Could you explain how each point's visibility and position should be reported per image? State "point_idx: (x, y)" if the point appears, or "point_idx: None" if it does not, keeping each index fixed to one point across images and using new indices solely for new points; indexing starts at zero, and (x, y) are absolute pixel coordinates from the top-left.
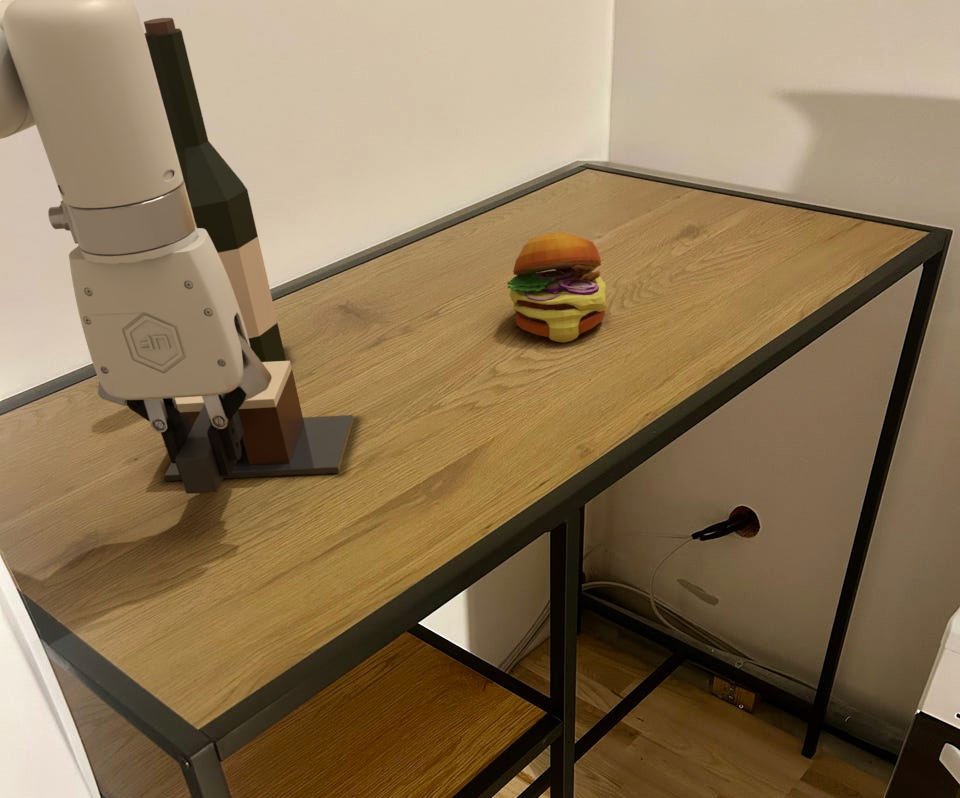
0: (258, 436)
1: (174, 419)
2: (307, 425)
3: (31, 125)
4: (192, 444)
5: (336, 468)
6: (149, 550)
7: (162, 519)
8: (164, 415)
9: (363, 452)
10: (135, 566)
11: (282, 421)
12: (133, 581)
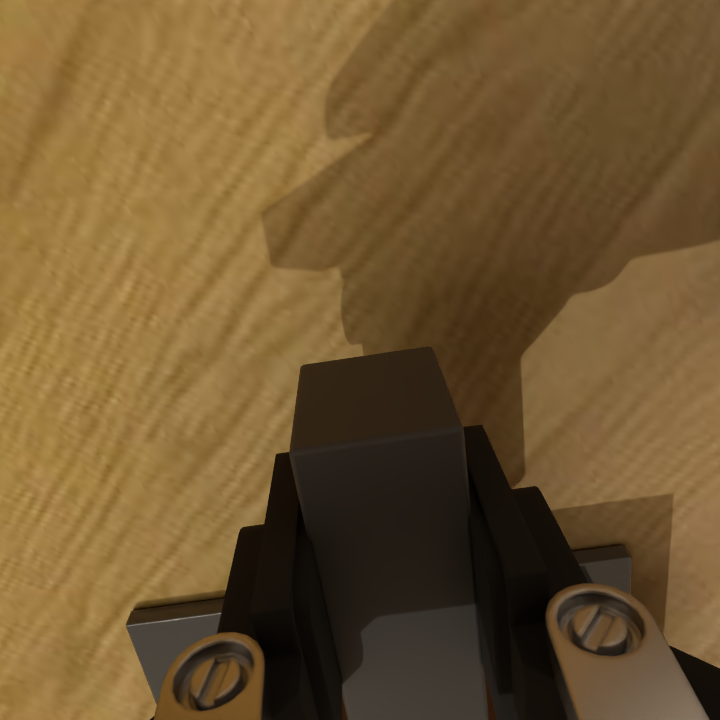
0: (343, 703)
1: (522, 679)
2: None
3: None
4: (421, 554)
5: (129, 621)
6: (567, 215)
7: (577, 375)
8: (567, 686)
9: (110, 691)
10: (588, 121)
11: None
12: (568, 30)
